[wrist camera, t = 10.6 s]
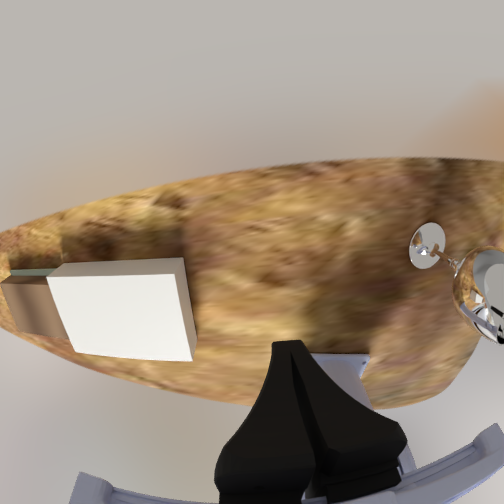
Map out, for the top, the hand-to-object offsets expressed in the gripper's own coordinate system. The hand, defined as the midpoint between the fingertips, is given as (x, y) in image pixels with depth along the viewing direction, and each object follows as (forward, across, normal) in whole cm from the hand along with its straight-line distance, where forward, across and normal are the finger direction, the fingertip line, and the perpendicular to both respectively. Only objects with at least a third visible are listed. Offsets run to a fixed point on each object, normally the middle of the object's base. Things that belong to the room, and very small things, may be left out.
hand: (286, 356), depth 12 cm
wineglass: (+10, -14, -1) cm, 18 cm away
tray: (+10, +13, +3) cm, 16 cm away
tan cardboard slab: (+10, +23, +3) cm, 25 cm away
